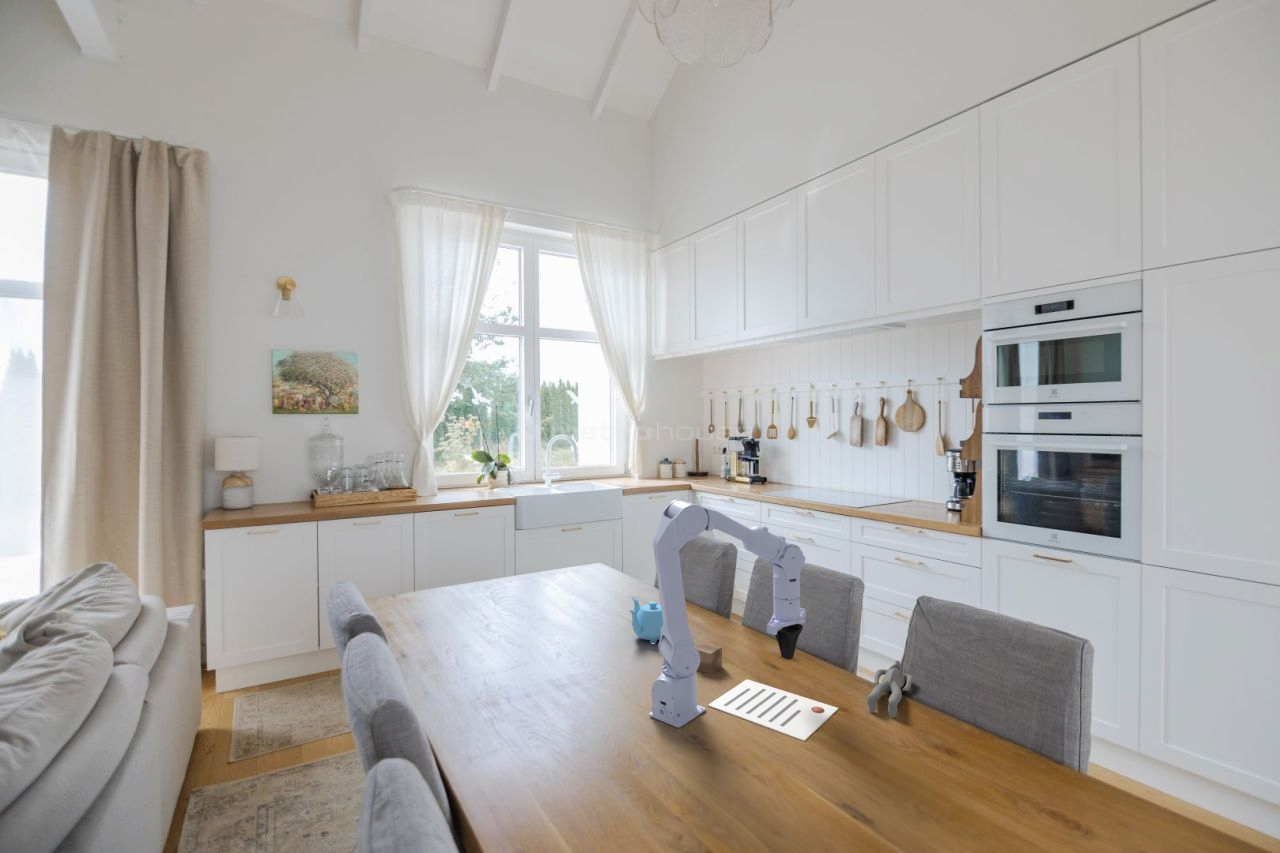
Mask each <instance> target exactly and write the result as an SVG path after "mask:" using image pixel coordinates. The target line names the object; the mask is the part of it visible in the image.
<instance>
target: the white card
mask: <svg viewBox="0 0 1280 853" xmlns="http://www.w3.org/2000/svg"><path fill="white" fill-rule="evenodd" d="M707 706H708V707H710V708H713V709H716V710H718V711H721V712H724V713H726V714H729V715H732V716H734V717H737V718H740V719H743V720H746V721H748V722H751V723H754V724H756V725H759V726H762V727H763V728H764V727H765V728H768V729H770V730H772V731H776V732H778V733H781V734H784V735H787V736H789V737H792V738H794V739H796V740H799V741H802V742H806V740H808V738H810V737H811V736H812V735H813V734H814V733H815V732H816V731H817V730H818V729H819V728H820V727H822V725H823V724H824V723H826V721H828V720H829V719H830V718H831V717H832V716H833V715H834V714H835V713H837V711H838V710H839V707H836V706H833V705H830V704H827V703H823V702H820V701H817V700H814V699H811V698H807V697H805V696H801V695H799V694H795V693H792V692H790V691H789V692H788V691H785V690H782V689H779V688H776V687H774V686H770V685H767V684H763V683H761V682H757V681H753V680H751V679H745V680H744V681H742V682H740V683H739V684H737V685H736V686H735V687H733V688H731V689H730V690H727V692H725V693H724V694H722V695H721V696H720V697H718V698H717V699H715V700H713V701H712V702H710V703H709V704H708V705H707Z"/></svg>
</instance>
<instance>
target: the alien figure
mask: <svg viewBox="0 0 1280 853" xmlns="http://www.w3.org/2000/svg"><path fill="white" fill-rule="evenodd" d="M901 665H902V664H901V662H900V661H899V660H895V662H894V663H893V664H892V665H891V666H889V668H888V669H885V668H880V669H878V670H876V671H875V676H874V678H873V680H874V681H873V683H872V684H873V685H875V686H874V687H873V689H871V692H870V693H869V694H868V695H867V698H866V700H867V709H868V712H869V713H870V714H874V713H875V711H876V709H877V701H879V700H880V698H881V697H882V695H883V694H884V693H885V692H889V691H891V692H890V693H891V694H890V696H889V697H888V706H887V710H888V714H889V717H890V718H892V719H894V718H895V717H896V716H897V711H898V704H899V703H900V702H901V701H902V698H903V695H902V691H903V692H904V691H905V692H907V691H910V690H911V686H912V684H913V682H914V676H912V674H909V673H908V672H907V670H906V669H905V670H906V671H905V670H904V673H903V668H904V666H903V667H902V671H901V677H900V669H901ZM907 673H908V674H907ZM882 676H883V677H882ZM881 677H882V679H881V681H880V678H881ZM905 682H906V684H905ZM904 685H905V686H904ZM903 686H904V687H903Z"/></svg>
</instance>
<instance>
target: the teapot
mask: <svg viewBox="0 0 1280 853" xmlns="http://www.w3.org/2000/svg"><path fill="white" fill-rule="evenodd" d="M631 599H632V601H633V604H634V610H632V609H628V611H629V612H630V615H631V616H632V617H631V626H632V630H633V632H634V634H636V636H637V638H638V637H639V638H642V640H649V644H650V643H656V642H657V643H658V641H660V638H661V627H662V626H663V618H662V610H661V604H658V602H657V601H650V602H648V604H644V605H643V606H640V602H639V600H638V599H637V598H636V597H635V596H631Z"/></svg>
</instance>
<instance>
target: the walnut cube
mask: <svg viewBox="0 0 1280 853" xmlns="http://www.w3.org/2000/svg"><path fill="white" fill-rule="evenodd" d="M695 648H696V649H697V650H698V652H699V654H700V665H699V667H698V669H697V670H696V671H700V672H704V673H706V674H708V675H709V674H710V675H711V674H713V673H715V672H717V671H718V670H720V669H721V668H723V647H722V646H718V645H715V644H711V643H708V642H703V643H701V644H699V645H697V646H695Z"/></svg>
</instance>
